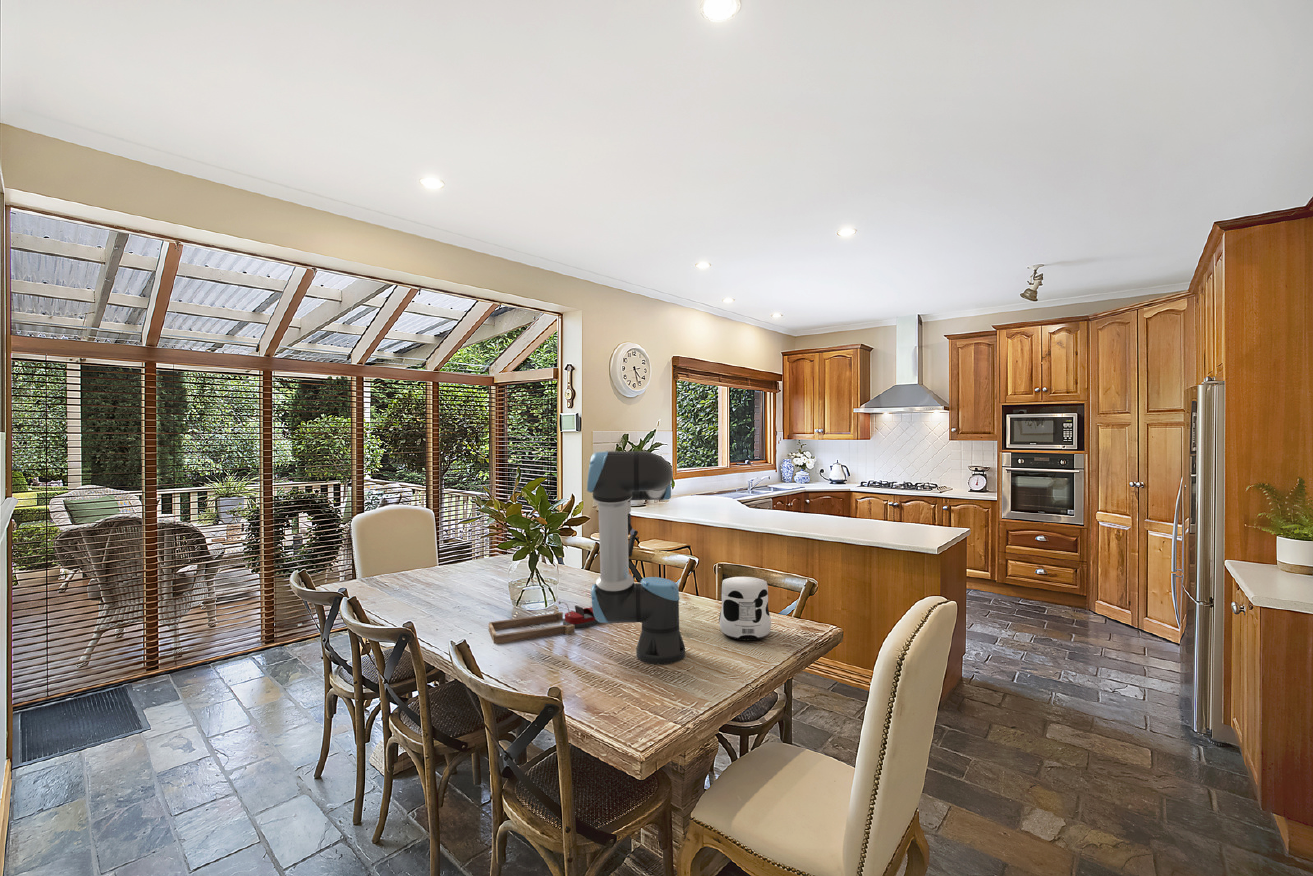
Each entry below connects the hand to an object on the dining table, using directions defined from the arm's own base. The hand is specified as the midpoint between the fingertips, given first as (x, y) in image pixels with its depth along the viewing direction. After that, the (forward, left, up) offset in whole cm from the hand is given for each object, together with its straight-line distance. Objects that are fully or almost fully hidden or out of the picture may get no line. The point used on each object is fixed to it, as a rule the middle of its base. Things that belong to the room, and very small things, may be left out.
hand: (621, 576), depth 215 cm
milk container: (-36, -31, -16) cm, 50 cm away
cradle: (0, +34, -15) cm, 37 cm away
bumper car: (0, +15, -16) cm, 22 cm away
